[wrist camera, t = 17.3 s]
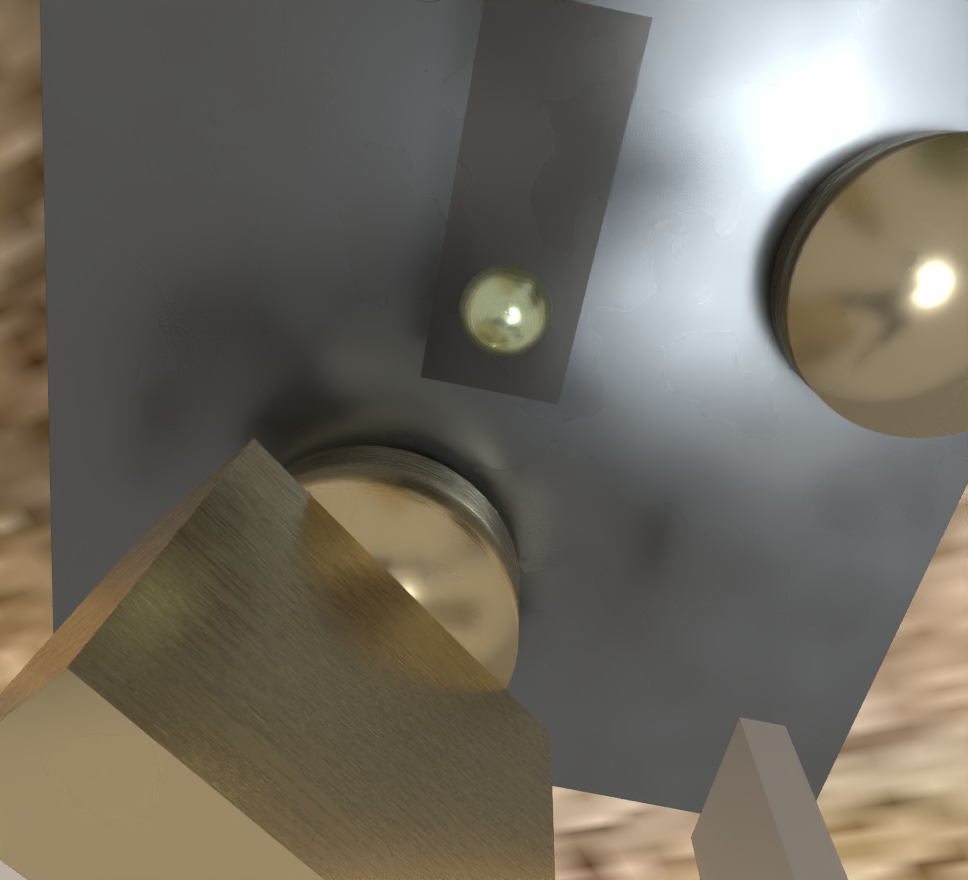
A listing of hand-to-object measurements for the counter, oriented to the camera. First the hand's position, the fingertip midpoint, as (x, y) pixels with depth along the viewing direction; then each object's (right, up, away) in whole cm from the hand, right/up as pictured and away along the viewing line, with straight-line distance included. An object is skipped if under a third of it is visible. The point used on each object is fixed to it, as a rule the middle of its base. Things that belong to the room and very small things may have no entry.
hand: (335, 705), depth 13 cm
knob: (0, +2, +4) cm, 4 cm away
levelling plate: (+4, +9, +3) cm, 10 cm away
